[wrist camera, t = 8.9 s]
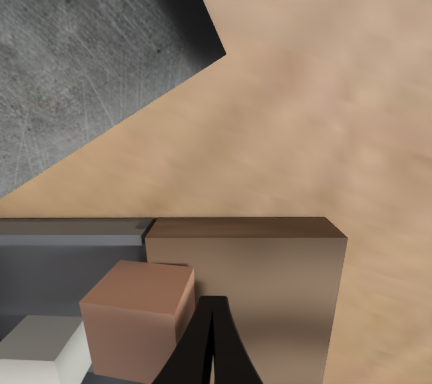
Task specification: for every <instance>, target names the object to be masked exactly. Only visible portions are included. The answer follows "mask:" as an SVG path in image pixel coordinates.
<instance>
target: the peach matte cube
mask: <svg viewBox="0 0 432 384" xmlns="http://www.w3.org/2000/svg"><path fill="white" fill-rule="evenodd" d="M79 305H80V309H81V314H82V319H83V324H84V328H85V333H86V338H87V343H88V348H89V352H90V357H91V362H92V367H93V371H94V374H97V375H102V376H108V377H113V378H118V379H124V380H129V381H135V382H140V383H145V384H151V383H152V382H153V381H154V379H155V378H156V377H157V375H158V374H159V372H160V371H161V369H162V368H163V367H164V365H165V364H166V362H167V361H168V359H169V357H170V356H171V354H172V353H173V351H174V349H175V348H176V346H177V344H178V342H179V341H180V339H181V337H182V336H183V334H184V332H185V330H186V328H187V326H188V324H189V322H190V320H191V318H192V316H193V313H194V311H195V289H194V267H186V266H176V265H166V264H156V263H146V262H136V261H126V260H120V261H119V262H118V263H117V264H116V265H115V266H114V267H113V268H112V269H111V270H110V271H109V272H108V273H107V274H106V275H105V276H104V277H103V278H102V279H101V280H100V281H99V282H98V283H97V284H96V285H95V286H94V287H93V288H92V289H91V290H90V291H89V292H88V293H87V294H86V295H85V297H84V298H83V299H82V300H81V301H80V302H79Z"/></svg>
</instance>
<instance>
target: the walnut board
mask: <svg viewBox="0 0 432 384" xmlns="http://www.w3.org/2000/svg"><path fill="white" fill-rule="evenodd" d="M347 240H348V238H347V237H346V236H345V235H344V234H343V233H342V232H341V231H340V230H339V229H338V228H337V227H335V226H334V225H333V224H332V223H331V222H330V221H329V220H328V219H327V218H326V217H254V218H158V219H157V220H156V222H155V223H154V225H153V226H152V228H151V229H150V231H149V232H148V234H147V235H146V237H145V244H146V253H147V261H148V263H156V264H166V265H176V266H186V267H194V289H195V309H196V306H197V303H198V300H199V297H200V296H202V295H203V296H226V297H228V302H229V307H230V311H231V314H232V317H233V320H234V323H235V326H236V328H237V331H238V333H239V336H240V338H241V341H242V343H243V345H244V347H245V349H246V352H247V354H248V356H249V358H250V360H251V362H252V364H253V366H254V368H255V369H256V371H257V373H258V375H259V377H260V378H261V380H262V382H263V384H322V382H323V376H324V370H325V365H326V359H327V353H328V348H329V342H330V336H331V331H332V325H333V319H334V314H335V308H336V302H337V296H338V291H339V285H340V279H341V274H342V268H343V262H344V257H345V251H346V245H347ZM210 384H214V359H213V362H212V371H211V379H210Z"/></svg>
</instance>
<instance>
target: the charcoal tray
mask: <svg viewBox="0 0 432 384" xmlns="http://www.w3.org/2000/svg"><path fill="white" fill-rule="evenodd" d="M153 225H154V220H153V218H0V342H1V341H2V340H3V339H4V338H5V337H6V336H7V335H8V334H9V333H10V332H11V331H12V330H13V329H14V328H15V327H16V326H17V325H18V324H19V323H20V322H21V321H22V320H23V319H24V318H25V317H26V316H27V315H45V316H70V317H82V314H81V309H80V305H79V302H80V301H81V300H82V299H83V298H84V297H85V295H86V294H87V293H88V292H89V291H90V290H91V289H92V288H93V287H94V286H95V285H96V284H97V283H98V282H99V281H100V280H101V279H102V278H103V277H104V276H105V275H106V274H107V273H108V272H109V271H110V270H111V269H112V268H113V267H114V266H115V265H116V264H117V263H118V262H119V261H120V260H126V261H136V262H146V263H148V261H147V253H146V244H145V237H146V235H147V234H148V232H149V231H150V229H151V228H152V226H153ZM81 384H145V383H140V382H135V381H129V380H124V379H118V378H113V377H108V376H102V375H97V374H94V371H93V367H92V363H91V365H90V367H89V369H88V371H87V373H86V375H85V376H84V378H83V380H82V382H81Z"/></svg>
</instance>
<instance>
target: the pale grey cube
mask: <svg viewBox="0 0 432 384" xmlns="http://www.w3.org/2000/svg"><path fill="white" fill-rule="evenodd" d="M91 363H92V362H91V357H90V352H89V348H88V343H87V338H86V333H85V328H84V324H83V319H82V317H70V316H45V315H27V316H26V317H25V318H24V319H23V320H22V321H21V322H20V323H19V324H18V325H17V326H16V327H15V328H14V329H13V330H12V331H11V332H10V333H9V334H8V335H7V336H6V337H5V338H4V339H3V340H2V341H1V342H0V384H81V382H82V380H83V378H84V376H85V375H86V373H87V371H88V369H89V367H90V365H91Z"/></svg>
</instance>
